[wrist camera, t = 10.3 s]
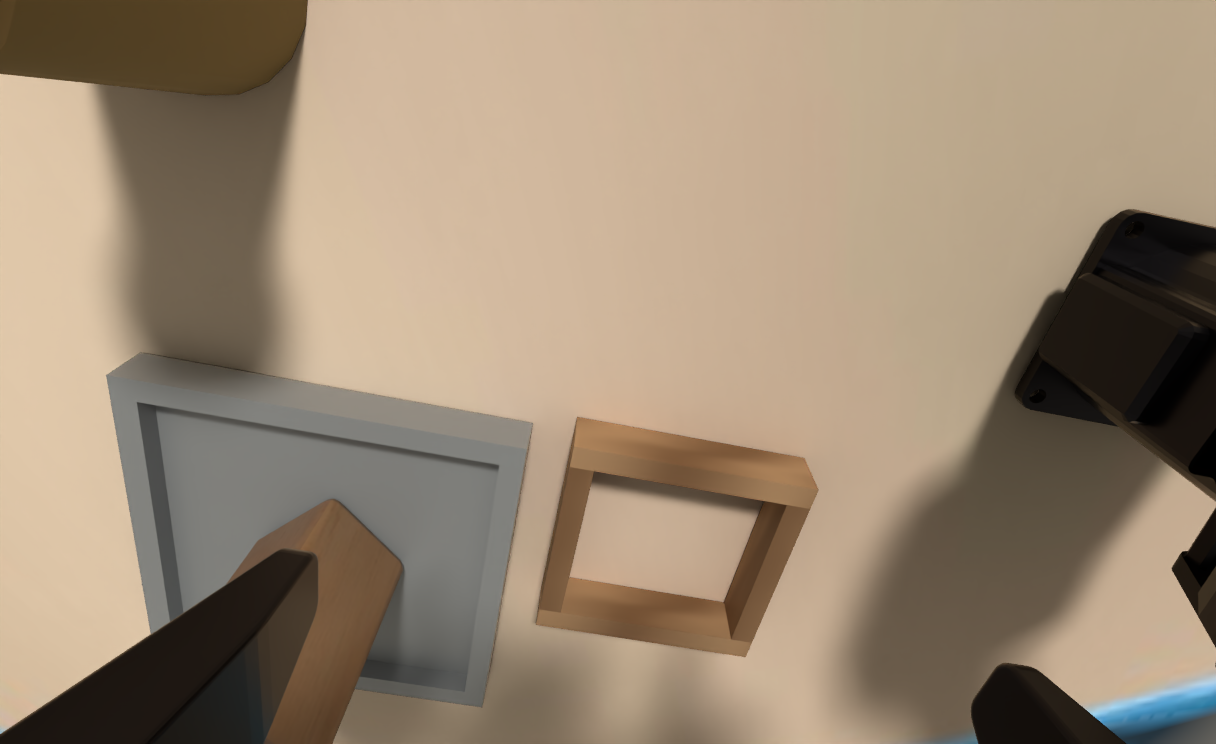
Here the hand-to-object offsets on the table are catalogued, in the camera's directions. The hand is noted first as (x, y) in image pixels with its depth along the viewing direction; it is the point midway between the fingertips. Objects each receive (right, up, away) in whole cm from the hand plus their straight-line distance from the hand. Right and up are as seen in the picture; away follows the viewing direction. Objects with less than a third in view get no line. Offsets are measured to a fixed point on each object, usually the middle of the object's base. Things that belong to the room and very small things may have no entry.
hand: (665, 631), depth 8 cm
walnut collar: (+1, -2, +16) cm, 16 cm away
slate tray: (-11, -3, +16) cm, 20 cm away
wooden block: (-11, -3, +16) cm, 19 cm away
